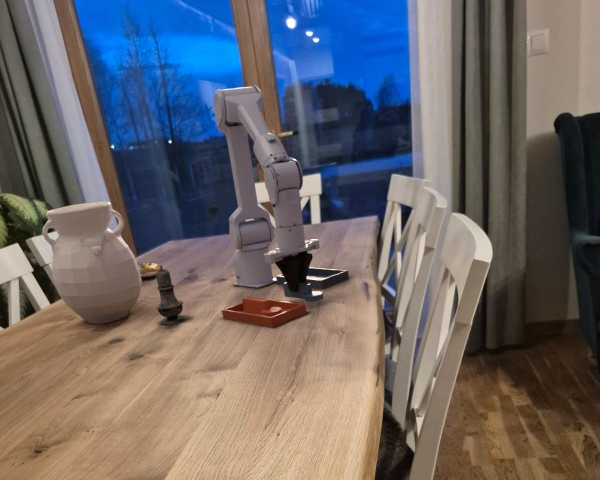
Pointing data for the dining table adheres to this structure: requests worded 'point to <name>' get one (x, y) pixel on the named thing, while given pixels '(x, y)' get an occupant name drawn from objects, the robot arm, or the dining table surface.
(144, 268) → the cake
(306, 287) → the dark blue stepped block
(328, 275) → the slate tray
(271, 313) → the orange stepped block
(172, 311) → the salt shaker
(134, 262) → the white handled vase
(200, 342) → the dining table surface
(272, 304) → the terracotta tray
